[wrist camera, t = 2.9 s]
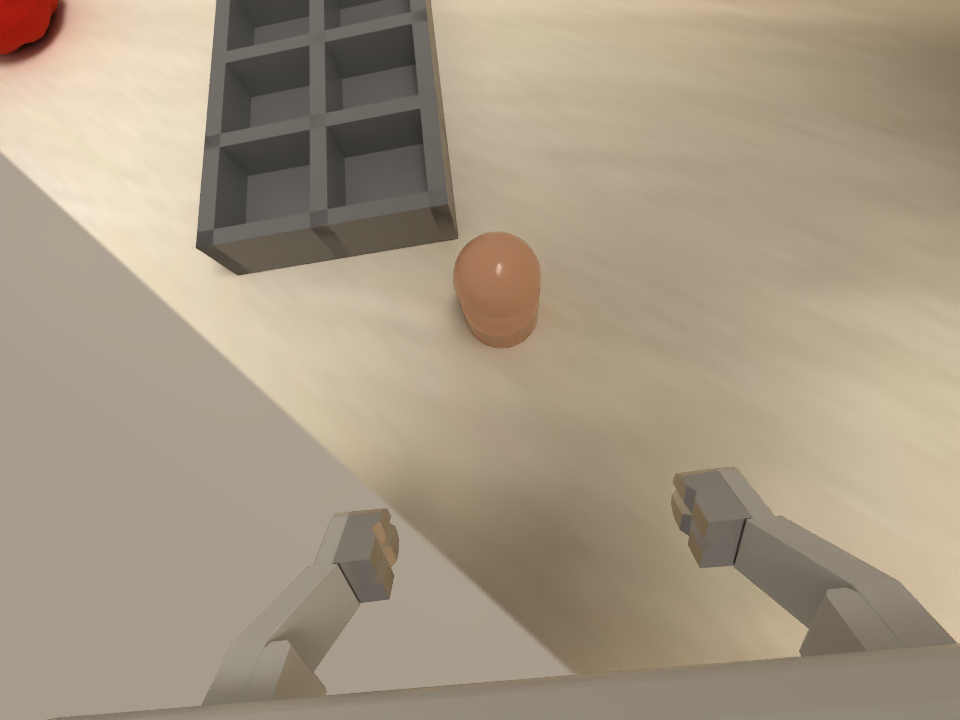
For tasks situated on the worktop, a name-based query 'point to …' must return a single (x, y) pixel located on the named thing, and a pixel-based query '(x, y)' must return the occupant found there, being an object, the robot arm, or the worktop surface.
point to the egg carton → (323, 133)
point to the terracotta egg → (498, 288)
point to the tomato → (23, 22)
